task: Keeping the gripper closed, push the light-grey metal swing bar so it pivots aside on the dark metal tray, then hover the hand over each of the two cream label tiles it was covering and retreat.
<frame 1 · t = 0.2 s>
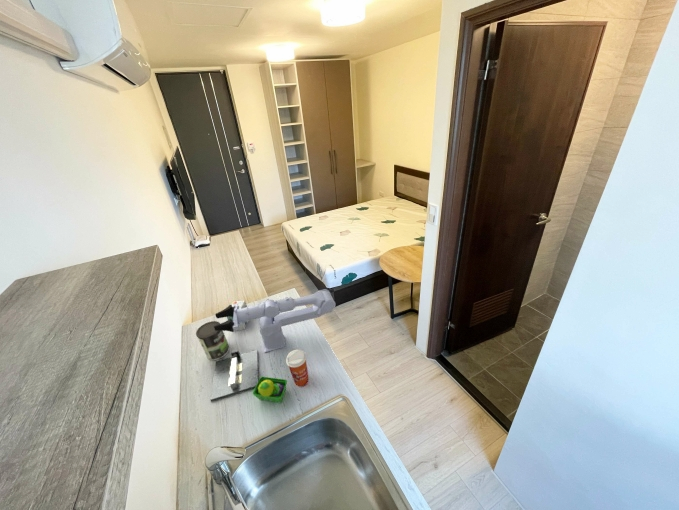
hand: (215, 322, 113), 21 cm above the worktop, tool horizontal, fingers open, 7 cm apart
fruit basket: (272, 397, 105), on the worktop
light bulb box: (241, 323, 143), on the worktop
paper cup: (301, 380, 109), on the worktop
coffee can: (218, 351, 127), on the worktop
swing bar: (234, 370, 113), point 3 cm above the worktop, hinge at 0.0°
chassis tray: (236, 374, 115), on the worktop
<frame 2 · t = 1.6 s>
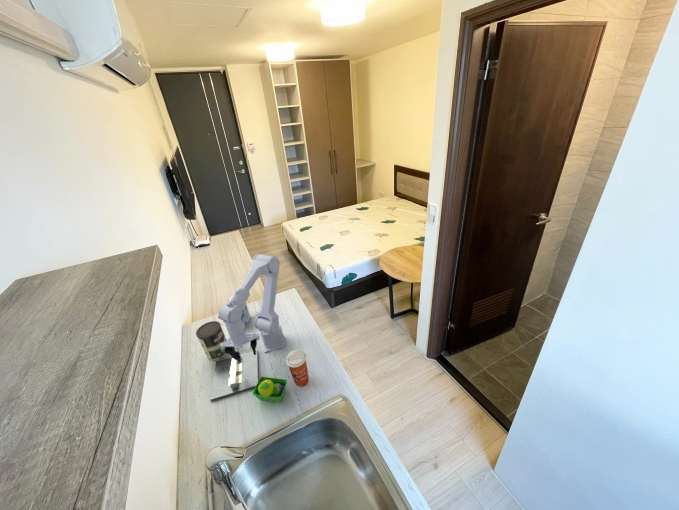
hand: (245, 355, 112), 8 cm above the worktop, tool pointing down, fingers open, 7 cm apart
nothing on the worktop moved.
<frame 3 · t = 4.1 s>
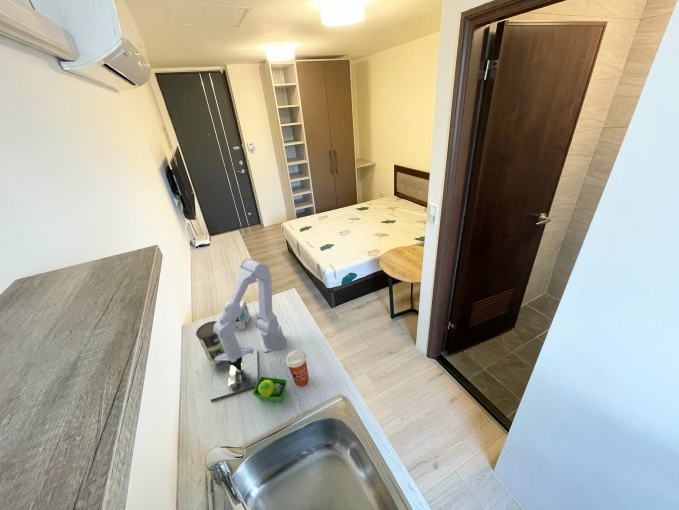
hand: (240, 368, 115), 2 cm above the worktop, tool pointing down, fingers closed, pressing on swing bar
swing bar: (234, 370, 113), point 3 cm above the worktop, hinge at 0.0°, touching gripper
everything else where it was.
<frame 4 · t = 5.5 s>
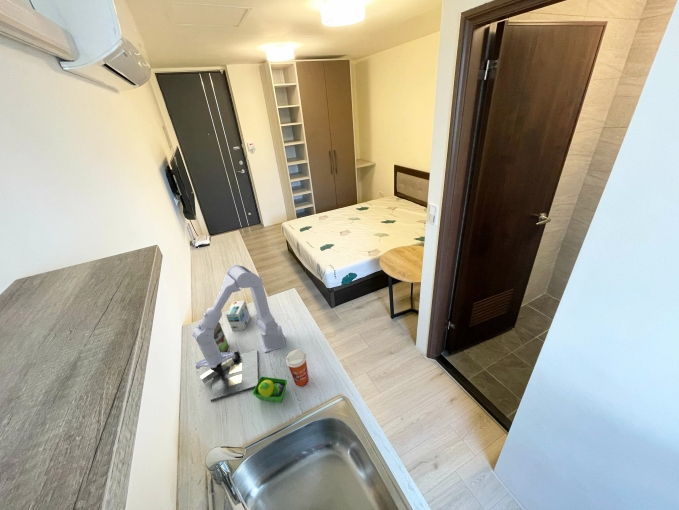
hand: (221, 373, 113), 2 cm above the worktop, tool pointing down, fingers closed, pressing on swing bar
swing bar: (220, 367, 115), point 3 cm above the worktop, hinge at 61.0°, touching gripper
everything else where it was.
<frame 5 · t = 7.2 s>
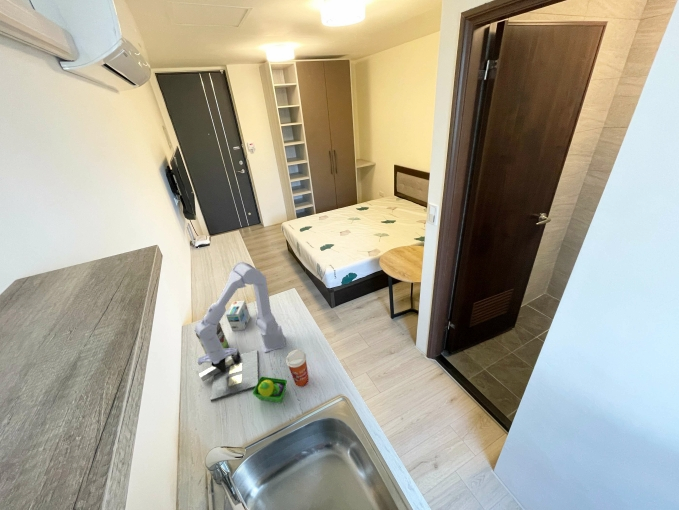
hand: (224, 370, 113), 4 cm above the worktop, tool pointing down, fingers closed
swing bar: (219, 366, 115), point 3 cm above the worktop, hinge at 66.4°
everything else where it was.
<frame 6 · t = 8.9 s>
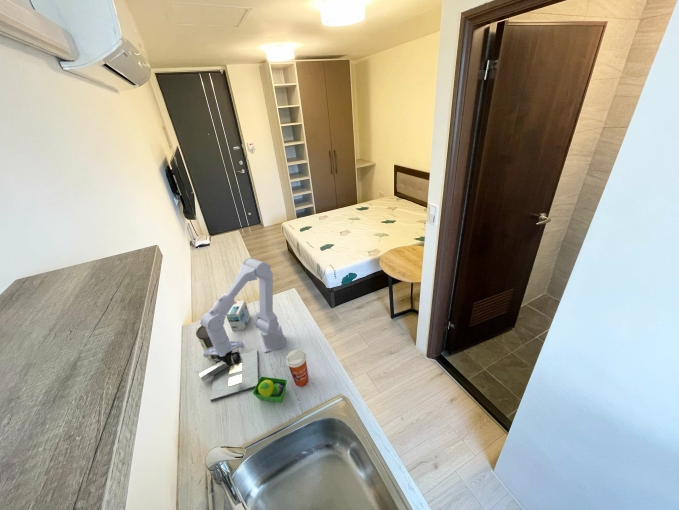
hand: (230, 363, 109), 9 cm above the worktop, tool pointing down, fingers closed
nothing on the worktop moved.
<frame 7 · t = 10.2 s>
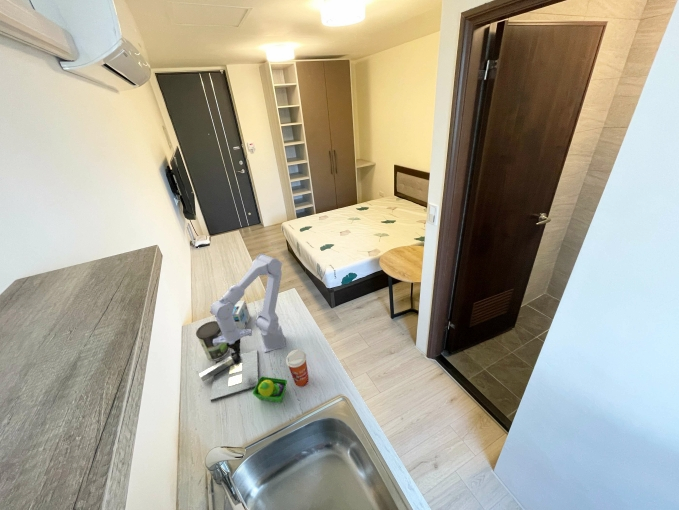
hand: (238, 351, 113), 10 cm above the worktop, tool pointing down, fingers closed
nothing on the worktop moved.
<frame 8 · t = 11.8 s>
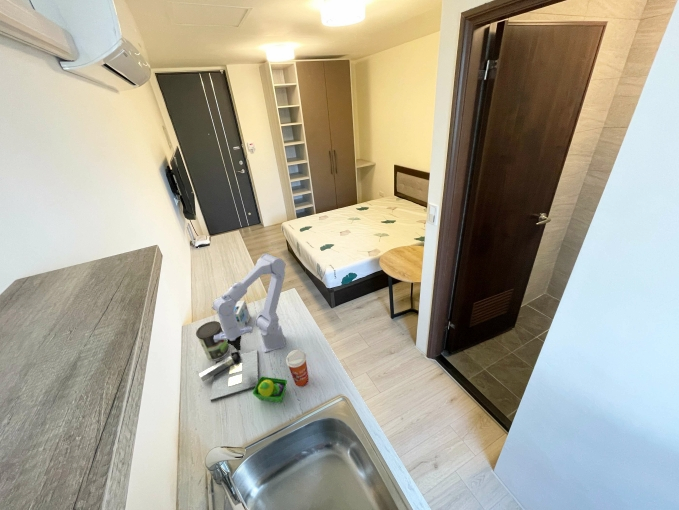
hand: (238, 348, 113), 10 cm above the worktop, tool pointing down, fingers closed
nothing on the worktop moved.
at the end: swing bar at +66° (first picture: +0°) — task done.
